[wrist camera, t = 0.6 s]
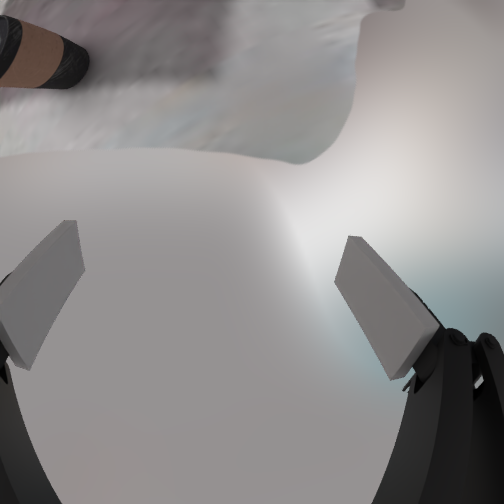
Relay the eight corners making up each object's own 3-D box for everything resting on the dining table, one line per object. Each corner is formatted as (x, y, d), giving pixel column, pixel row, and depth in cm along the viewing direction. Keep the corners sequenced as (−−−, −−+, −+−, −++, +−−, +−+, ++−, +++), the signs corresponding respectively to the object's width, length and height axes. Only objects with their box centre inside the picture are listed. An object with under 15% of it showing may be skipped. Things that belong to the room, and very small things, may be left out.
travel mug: (78, 36, 23) (1, 1, 5) (99, 65, 27) (17, 37, 9) (43, 70, 24) (-43, 62, 6) (62, 100, 28) (-30, 104, 10)
